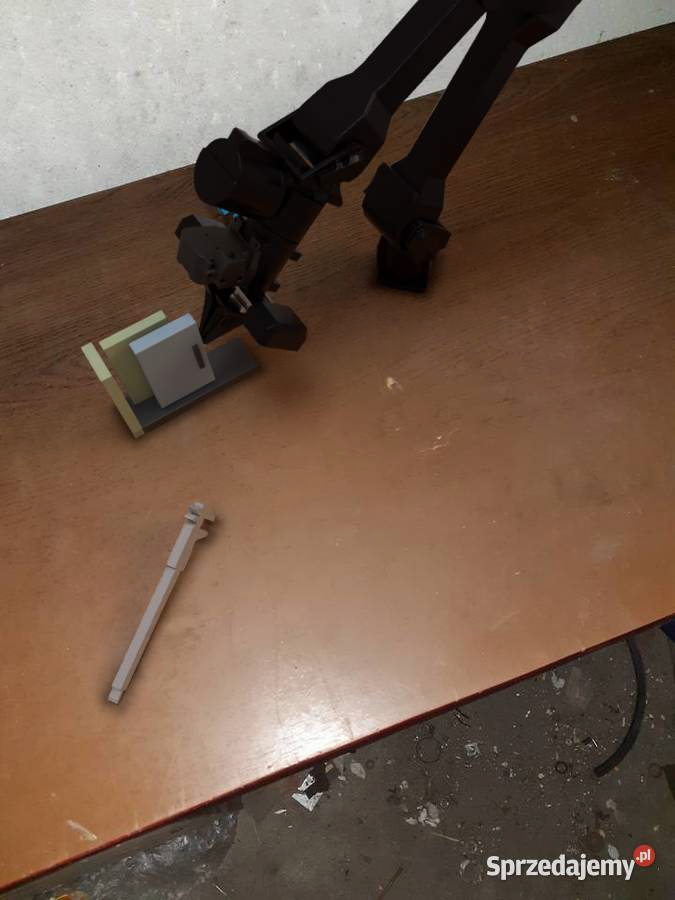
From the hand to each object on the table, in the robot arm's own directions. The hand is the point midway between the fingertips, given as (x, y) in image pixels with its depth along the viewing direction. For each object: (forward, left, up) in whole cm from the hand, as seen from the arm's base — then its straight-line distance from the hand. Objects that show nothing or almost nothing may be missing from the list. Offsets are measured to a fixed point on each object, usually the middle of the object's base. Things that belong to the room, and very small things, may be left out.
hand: (201, 341), depth 77 cm
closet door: (+2, +4, -5) cm, 7 cm away
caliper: (-5, +27, -7) cm, 28 cm away
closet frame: (+2, +2, -7) cm, 7 cm away
